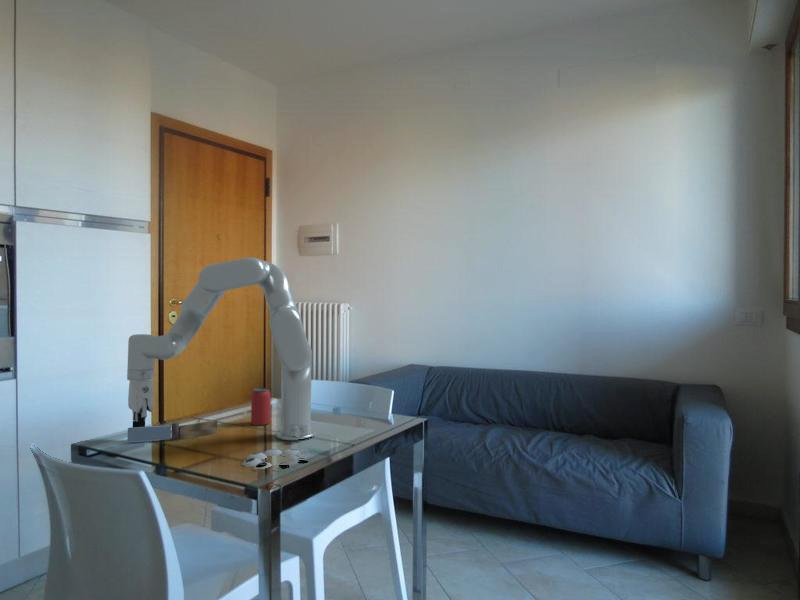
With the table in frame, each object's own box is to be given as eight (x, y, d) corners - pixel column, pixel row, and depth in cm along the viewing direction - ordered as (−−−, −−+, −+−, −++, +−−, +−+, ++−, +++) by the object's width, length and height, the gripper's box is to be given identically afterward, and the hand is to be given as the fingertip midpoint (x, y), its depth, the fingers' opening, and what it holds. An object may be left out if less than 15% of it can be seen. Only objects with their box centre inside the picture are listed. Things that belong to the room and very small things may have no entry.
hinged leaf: (170, 437, 174) (170, 425, 174) (170, 438, 173) (170, 426, 173) (128, 440, 170) (128, 427, 170) (127, 441, 169) (127, 428, 169)
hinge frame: (214, 432, 184) (215, 417, 184) (217, 433, 182) (217, 418, 182) (170, 439, 174) (170, 423, 174) (173, 440, 173) (173, 424, 173)
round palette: (327, 457, 159) (327, 450, 159) (288, 478, 141) (288, 470, 141) (269, 449, 166) (269, 443, 166) (225, 468, 148) (225, 461, 148)
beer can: (271, 424, 195) (272, 390, 195) (252, 426, 192) (252, 391, 192) (268, 420, 201) (269, 387, 201) (250, 422, 199) (250, 388, 198)
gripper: (161, 377, 170) (159, 437, 170) (145, 370, 181) (143, 427, 181) (135, 378, 165) (133, 440, 165) (120, 372, 176) (118, 430, 176)
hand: (138, 433), depth 173 cm, fingers closed
